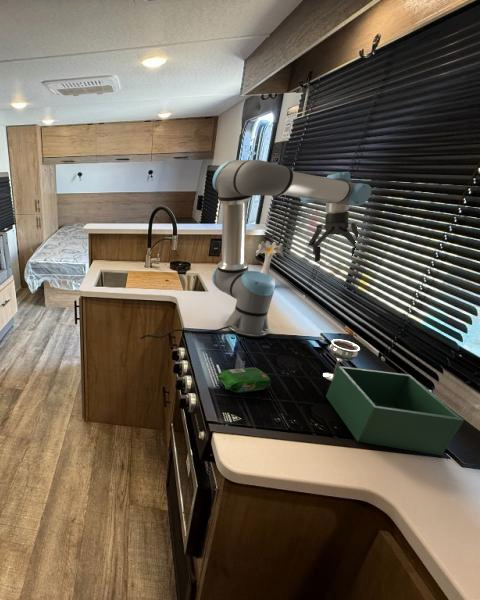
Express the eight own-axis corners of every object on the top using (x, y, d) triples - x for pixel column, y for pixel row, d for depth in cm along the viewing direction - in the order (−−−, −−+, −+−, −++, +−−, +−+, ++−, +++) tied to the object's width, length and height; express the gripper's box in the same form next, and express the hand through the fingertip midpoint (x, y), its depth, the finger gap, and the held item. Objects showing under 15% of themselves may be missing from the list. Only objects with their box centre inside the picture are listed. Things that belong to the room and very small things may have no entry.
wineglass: (337, 386, 94) (351, 353, 89) (314, 373, 99) (326, 341, 95) (351, 380, 96) (365, 348, 91) (328, 368, 102) (340, 337, 97)
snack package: (212, 382, 96) (214, 368, 94) (257, 376, 98) (261, 363, 96) (225, 398, 89) (228, 383, 87) (273, 391, 91) (277, 377, 89)
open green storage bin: (357, 441, 75) (374, 407, 70) (325, 396, 90) (337, 365, 85) (441, 455, 71) (464, 420, 67) (393, 406, 86) (410, 374, 81)
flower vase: (266, 280, 181) (277, 237, 171) (279, 291, 164) (292, 245, 154) (243, 278, 183) (252, 237, 173) (253, 290, 166) (264, 244, 156)
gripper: (380, 207, 118) (376, 261, 123) (309, 213, 140) (308, 258, 146) (370, 210, 115) (366, 265, 121) (299, 215, 137) (299, 262, 143)
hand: (334, 261), depth 133 cm, fingers open, 13 cm apart
